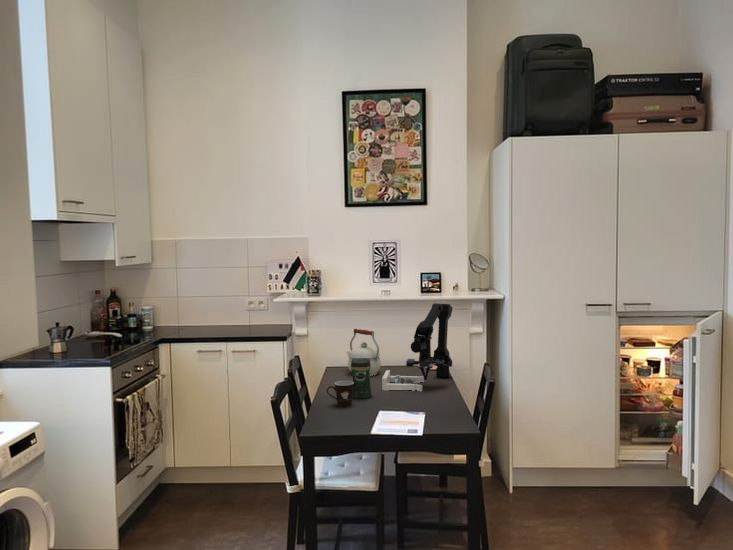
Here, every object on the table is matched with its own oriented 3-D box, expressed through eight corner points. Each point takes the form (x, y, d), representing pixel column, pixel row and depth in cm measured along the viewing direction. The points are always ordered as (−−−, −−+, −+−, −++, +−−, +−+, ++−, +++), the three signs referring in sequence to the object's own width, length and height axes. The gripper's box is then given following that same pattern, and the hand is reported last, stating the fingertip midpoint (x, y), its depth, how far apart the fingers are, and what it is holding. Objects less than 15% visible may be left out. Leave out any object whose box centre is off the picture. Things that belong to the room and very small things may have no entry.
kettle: (390, 373, 298) (389, 329, 296) (367, 380, 285) (366, 334, 283) (358, 367, 315) (357, 325, 314) (335, 373, 302) (334, 329, 301)
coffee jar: (372, 394, 258) (371, 356, 257) (371, 399, 250) (370, 360, 249) (352, 394, 259) (351, 356, 258) (350, 399, 251) (349, 360, 250)
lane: (424, 381, 279) (423, 370, 278) (422, 391, 261) (422, 379, 260) (386, 381, 282) (386, 369, 281) (382, 390, 264) (382, 378, 263)
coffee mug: (356, 402, 245) (356, 381, 244) (350, 408, 237) (349, 386, 236) (333, 400, 249) (332, 379, 248) (326, 406, 240) (325, 384, 240)
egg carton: (399, 384, 277) (399, 376, 276) (413, 384, 276) (413, 376, 276) (398, 389, 266) (398, 381, 266) (413, 389, 265) (413, 381, 265)
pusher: (399, 382, 277) (399, 372, 277) (397, 388, 266) (397, 378, 265) (397, 382, 278) (397, 372, 277) (394, 388, 266) (394, 378, 266)
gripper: (405, 352, 262) (405, 383, 263) (443, 352, 259) (443, 384, 260) (406, 347, 273) (407, 377, 274) (443, 348, 270) (444, 378, 271)
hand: (425, 379), depth 269 cm, fingers closed
